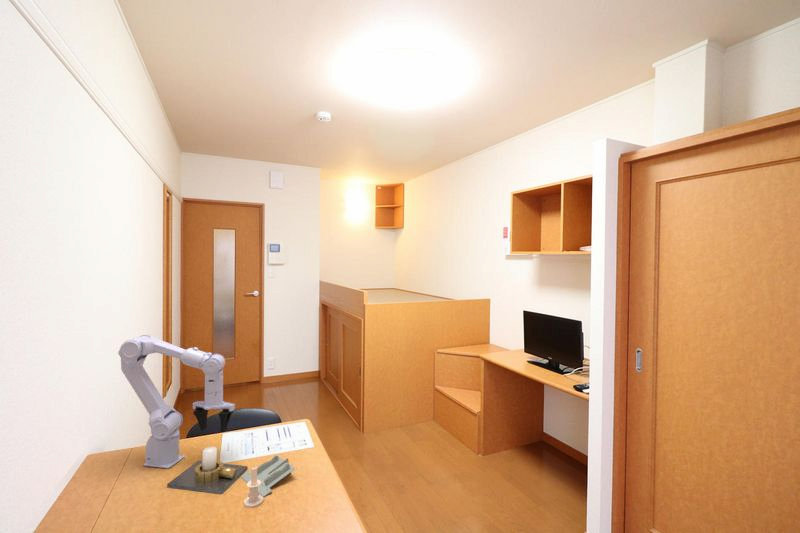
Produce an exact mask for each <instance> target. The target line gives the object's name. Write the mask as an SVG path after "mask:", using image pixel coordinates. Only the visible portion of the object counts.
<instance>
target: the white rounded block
mask: <svg viewBox="0 0 800 533" xmlns="http://www.w3.org/2000/svg"><path fill="white" fill-rule="evenodd" d="M217 457H218V448H217V447H216V446H207V447H205V448H204V449H203V450H202V460H201V461H202V471H203V472H208V471H213V470H215V469H216V460H217V461H218V459H217Z"/></svg>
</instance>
